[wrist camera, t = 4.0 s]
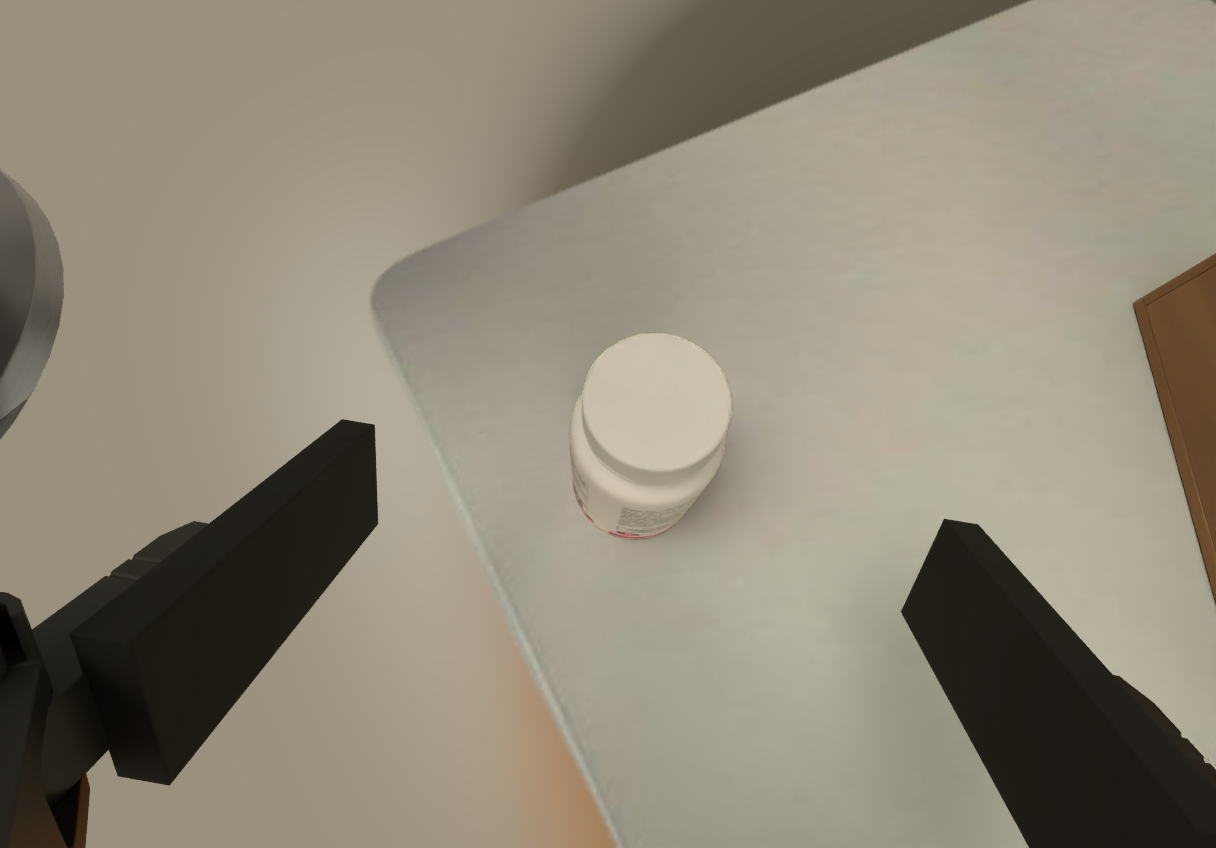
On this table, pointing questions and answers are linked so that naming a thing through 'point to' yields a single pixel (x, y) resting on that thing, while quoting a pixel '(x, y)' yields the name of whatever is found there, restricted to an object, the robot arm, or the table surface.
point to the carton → (1188, 386)
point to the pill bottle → (648, 433)
